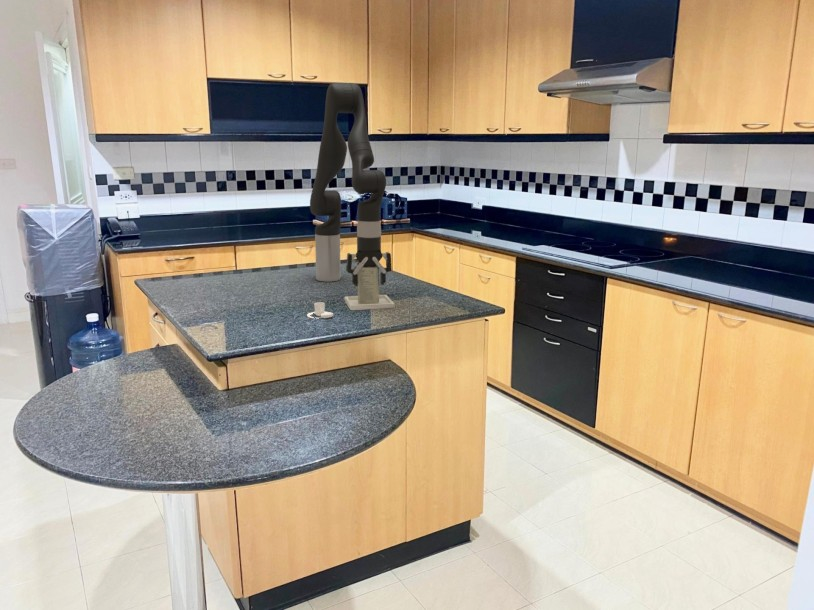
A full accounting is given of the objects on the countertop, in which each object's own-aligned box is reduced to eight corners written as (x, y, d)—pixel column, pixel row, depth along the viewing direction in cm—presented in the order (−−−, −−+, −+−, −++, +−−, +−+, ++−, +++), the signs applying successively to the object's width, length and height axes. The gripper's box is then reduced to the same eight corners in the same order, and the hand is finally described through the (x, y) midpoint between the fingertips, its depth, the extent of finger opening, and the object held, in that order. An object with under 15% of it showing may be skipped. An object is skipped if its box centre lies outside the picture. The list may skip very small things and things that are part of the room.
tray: (344, 300, 212) (344, 296, 211) (386, 299, 215) (386, 294, 215) (350, 310, 200) (350, 305, 200) (394, 308, 204) (394, 303, 203)
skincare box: (379, 302, 209) (379, 265, 206) (376, 305, 205) (376, 268, 202) (360, 301, 210) (360, 264, 207) (357, 304, 206) (356, 267, 203)
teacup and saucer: (336, 319, 191) (335, 306, 190) (309, 321, 189) (308, 308, 188) (330, 312, 199) (330, 299, 198) (305, 313, 197) (304, 301, 196)
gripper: (388, 232, 207) (388, 281, 211) (344, 233, 204) (345, 283, 208) (393, 236, 200) (393, 286, 204) (348, 237, 197) (348, 288, 201)
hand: (368, 285), depth 206 cm, fingers open, 8 cm apart
